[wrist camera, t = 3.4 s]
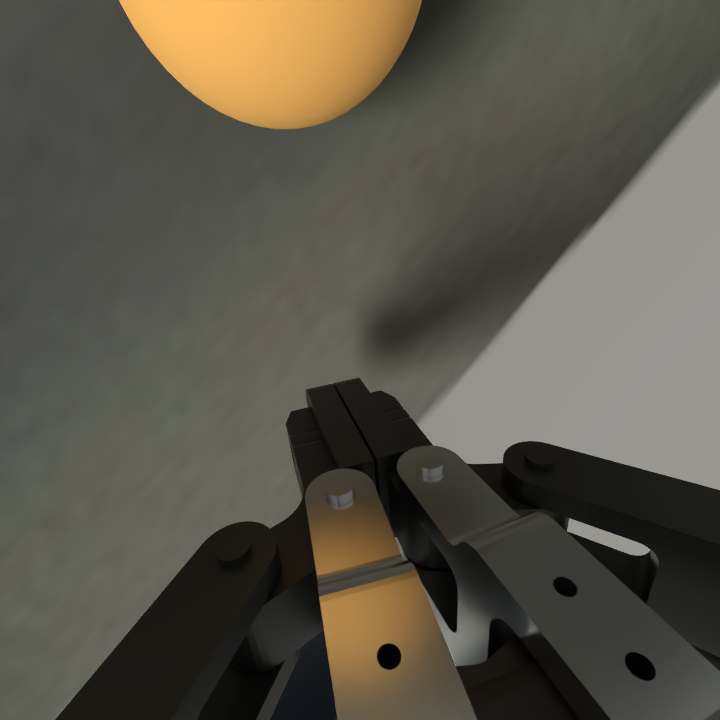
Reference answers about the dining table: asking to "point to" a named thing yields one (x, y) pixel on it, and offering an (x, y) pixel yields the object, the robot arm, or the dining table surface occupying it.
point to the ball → (276, 52)
